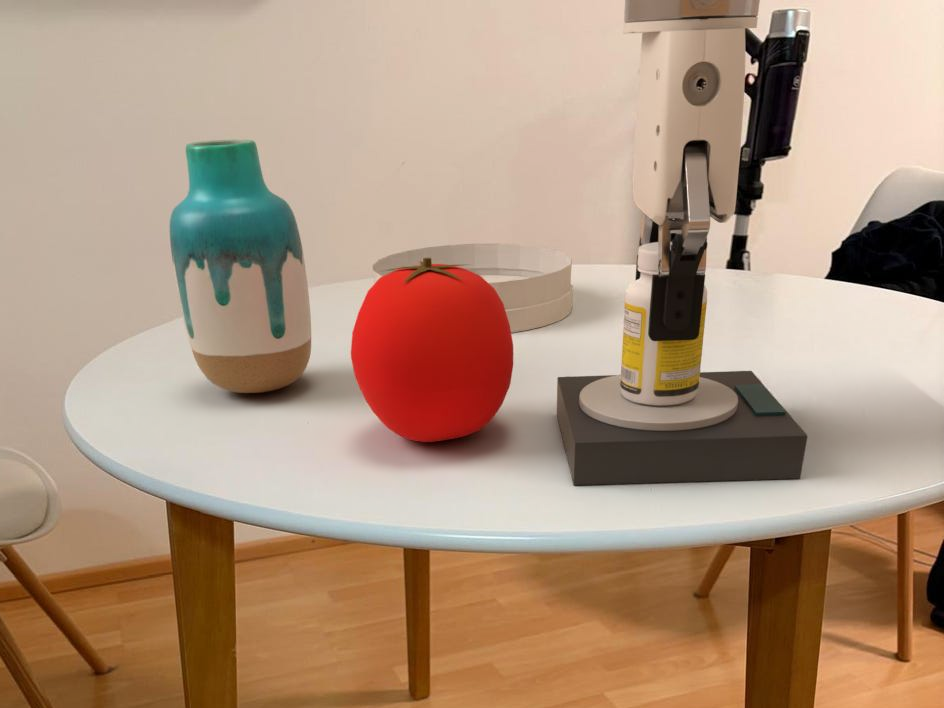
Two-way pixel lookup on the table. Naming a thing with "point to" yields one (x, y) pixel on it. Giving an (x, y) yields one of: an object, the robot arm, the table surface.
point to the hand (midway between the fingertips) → (664, 324)
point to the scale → (678, 433)
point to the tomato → (432, 351)
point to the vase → (240, 272)
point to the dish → (505, 277)
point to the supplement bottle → (656, 346)
